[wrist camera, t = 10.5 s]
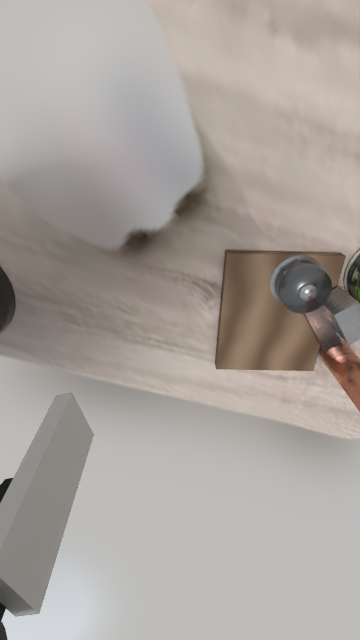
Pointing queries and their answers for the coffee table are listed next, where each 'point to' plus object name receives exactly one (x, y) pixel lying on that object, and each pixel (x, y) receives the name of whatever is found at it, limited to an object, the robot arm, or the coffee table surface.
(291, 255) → the board
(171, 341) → the coffee table surface
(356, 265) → the coffee can
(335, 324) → the lever
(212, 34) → the coffee table surface
